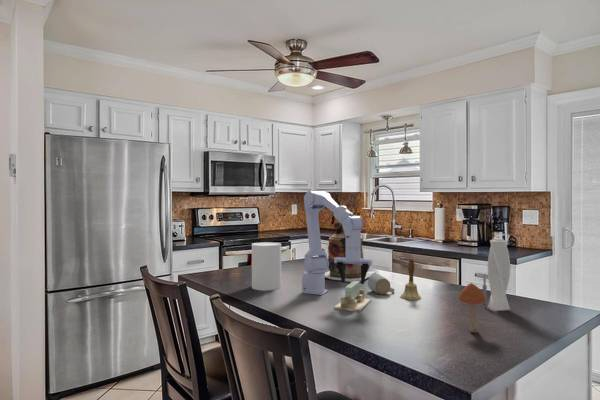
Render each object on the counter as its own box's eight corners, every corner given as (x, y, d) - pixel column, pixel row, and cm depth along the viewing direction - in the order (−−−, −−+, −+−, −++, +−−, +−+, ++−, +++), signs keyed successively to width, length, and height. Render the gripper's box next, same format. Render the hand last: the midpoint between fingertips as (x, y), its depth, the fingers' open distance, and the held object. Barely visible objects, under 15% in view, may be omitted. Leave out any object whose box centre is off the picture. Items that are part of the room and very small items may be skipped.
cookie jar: (337, 270, 224) (337, 213, 224) (378, 275, 210) (378, 215, 210) (313, 278, 204) (313, 215, 204) (356, 284, 190) (356, 217, 189)
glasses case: (345, 300, 148) (345, 287, 148) (353, 293, 160) (353, 280, 160) (351, 301, 147) (351, 287, 147) (360, 293, 159) (359, 281, 159)
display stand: (334, 308, 148) (334, 296, 148) (346, 298, 163) (346, 287, 163) (360, 311, 144) (360, 299, 144) (370, 301, 159) (370, 289, 159)
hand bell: (422, 296, 166) (422, 258, 166) (419, 301, 159) (419, 261, 159) (402, 294, 170) (402, 256, 170) (398, 298, 162) (398, 259, 162)
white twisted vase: (500, 305, 153) (500, 232, 153) (515, 311, 145) (515, 234, 145) (480, 306, 152) (481, 233, 151) (494, 313, 144) (494, 235, 143)
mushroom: (453, 327, 127) (453, 280, 127) (477, 326, 128) (477, 280, 127) (466, 336, 119) (466, 286, 119) (491, 335, 120) (491, 285, 119)
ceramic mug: (376, 295, 167) (376, 277, 167) (367, 291, 175) (367, 273, 175) (398, 294, 171) (398, 276, 171) (388, 290, 178) (388, 272, 178)
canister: (263, 292, 175) (263, 246, 174) (246, 286, 185) (245, 243, 184) (287, 287, 183) (287, 243, 183) (269, 282, 194) (269, 241, 193)
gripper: (331, 247, 152) (331, 283, 153) (369, 249, 147) (369, 286, 147) (337, 245, 159) (337, 279, 159) (373, 247, 153) (373, 282, 153)
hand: (352, 282), depth 153 cm, fingers open, 7 cm apart
